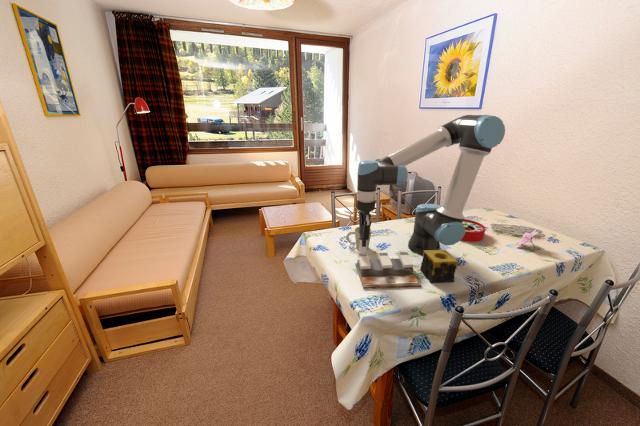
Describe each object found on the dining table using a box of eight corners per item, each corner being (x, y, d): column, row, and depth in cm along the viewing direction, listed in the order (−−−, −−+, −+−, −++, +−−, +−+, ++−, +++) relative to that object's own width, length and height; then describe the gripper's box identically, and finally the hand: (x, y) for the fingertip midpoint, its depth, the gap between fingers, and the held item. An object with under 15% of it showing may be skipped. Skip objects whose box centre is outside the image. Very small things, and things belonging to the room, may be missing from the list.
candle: (419, 270, 120) (422, 250, 117) (441, 269, 121) (445, 248, 118) (430, 284, 111) (433, 262, 107) (454, 282, 112) (458, 261, 108)
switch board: (405, 263, 126) (405, 256, 124) (421, 286, 109) (422, 279, 108) (355, 265, 124) (355, 258, 123) (363, 289, 108) (364, 281, 106)
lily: (524, 242, 147) (518, 227, 146) (550, 243, 137) (543, 226, 135) (513, 254, 142) (506, 238, 141) (539, 256, 132) (532, 238, 131)
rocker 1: (366, 257, 121) (367, 253, 120) (370, 270, 115) (371, 265, 113) (357, 257, 121) (358, 253, 120) (360, 270, 114) (361, 266, 113)
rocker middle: (386, 256, 122) (387, 252, 121) (391, 269, 115) (392, 265, 114) (377, 257, 122) (378, 252, 120) (382, 269, 115) (383, 265, 114)
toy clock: (469, 235, 141) (437, 222, 158) (467, 245, 143) (436, 231, 160) (493, 227, 150) (460, 216, 166) (491, 237, 152) (459, 225, 168)
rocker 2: (406, 256, 122) (407, 251, 121) (412, 268, 116) (413, 264, 114) (397, 256, 122) (398, 252, 121) (403, 269, 115) (404, 264, 114)
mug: (370, 252, 136) (371, 234, 132) (344, 250, 138) (345, 231, 135) (370, 244, 143) (371, 227, 140) (346, 242, 146) (347, 225, 142)
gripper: (353, 195, 117) (351, 245, 125) (359, 205, 104) (356, 259, 113) (371, 195, 117) (367, 244, 125) (379, 204, 105) (375, 259, 113)
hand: (362, 251), depth 119 cm, fingers closed
